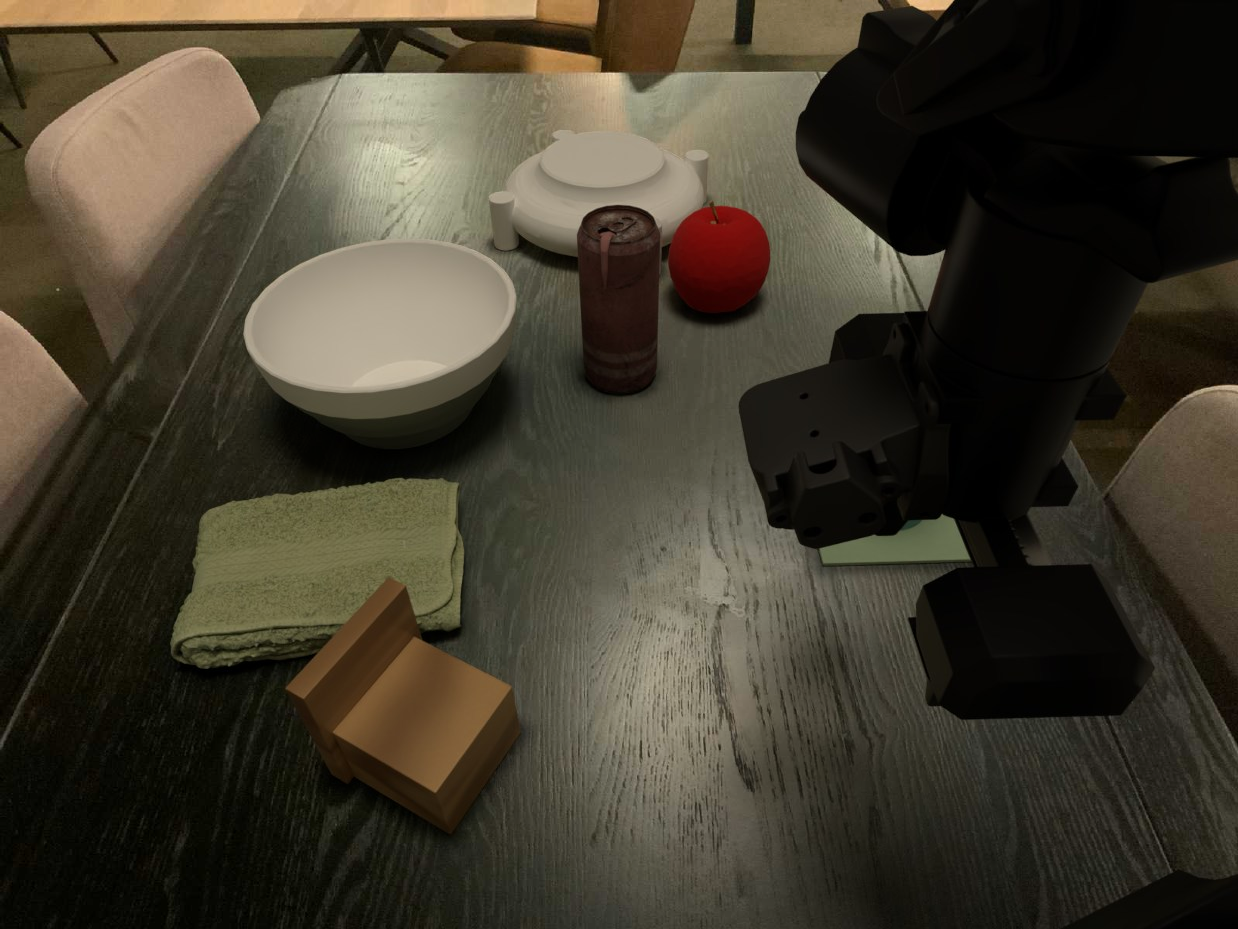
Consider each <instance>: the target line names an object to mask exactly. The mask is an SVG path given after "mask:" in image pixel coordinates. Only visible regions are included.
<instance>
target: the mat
mask: <svg viewBox="0 0 1238 929" xmlns="http://www.w3.org/2000/svg"><path fill="white" fill-rule="evenodd" d="M817 550H818V554H819V557H820V561H821V565H822V567H833V566H835V567H837V566H869V565H871V566H872V565H873V566H874V565H909V564H910V565H911V564H942V563H944V564H945V563H972V562H971V560H970V557H969V555H968V553H967V550H966V548H965V545H964V543H963V540H962V538H961V535H960V533H959V530H958V528H957V525H956V523H955V520H954V519H953V518H950V517H947V516H944V515H943V514H942V515H941V516H940V518H938V519H936V520H922V521H921V522H920V523H919V524H917V525H916V526H914V527H912V528H909V529H906V530H901V531H899V532H898V533H897V534H896V535H894V536H876V535H875V534H874V535H872V536H869V537H865V538H860V539H856V540H852V541H848V542H844V543H840V544H836V545H832V546H828V547H824V548H820V549H817Z"/></svg>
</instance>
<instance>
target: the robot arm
mask: <svg viewBox="0 0 1238 929" xmlns="http://www.w3.org/2000/svg"><path fill="white" fill-rule="evenodd" d="M861 18H862V19H861V23H860V24H861V25H860V31H859V36H858V42H857V47H855V48H854V49H852V50H851V51H848V53H847V54H845V55H844V56H843V57H841V58H840V59H839V60H838V61H836V62H835V63H834V64H833V65H832V67H831V68H830V69H829V70H828V71H827V72H826V73H825V75H823V77H822V78H821V79H820V81H819V82H818V84H817V85H816V87H815V89H814V90H813V92H812V93H811V94H810V96H809V99H808V101H807V103H806V106H805V108H804V109H803V110H802V111H801V112H800V114H799V115H798V118H797V123H796V129H795V152H796V156H797V160H798V164H799V166H800V167H801V169H802V171H803V172H804V174H805V176H806V177H807V178H808V179H810V180H811V181H812V182H813V183H815V185H817V186H818V187H819V188H820V189H822V190H823V191H824V192H825V193H826V194H827V195H829V196H830V197H831V198H832V199H834V201H836V202H837V203H838V204H839V205H841V207H843V208H844V209H846V211H847V212H848V213H850V214H851V215H852V216H854V217H855V218H856V219H858V221H860V222H861V223H862V224H863V225H865V227H867V228H868V229H869V230H870V231H871V232H872V233H874V234H875V235H876V236H878V237H879V238H880V239H881V240H883V242H885V243H886V244H887V245H888V246H890V247H891V248H892V249H893V250H894V251H895V252H897V253H899V254H901V255H906V256H909V257H929V256H933V255H936V254H939V253H941V252H944V253H943V257H942V259H941V263H940V266H939V270H938V273H937V277H936V281H935V284H934V287H933V291H932V294H931V298H930V301H929V305H928V308H927V310H909V311H908V310H907V311H904V312H879V313H878V312H875V313H871V312H870V313H858V314H856V315H855V316H854V317H853V318H851V319H849V321H847V322H846V323H844V324H843V325H841V326H839V327H838V329H836V330H835V331H834V334H833V339H832V340H833V341H832V345H831V349H830V354H829V360H828V363H824V364H822V365H821V364H820V365H818V366H814V367H811V368H807V369H804V370H801V371H797V372H794V373H791V374H788V375H784V376H781V377H777V378H774V379H771V380H767V381H763V382H761V383H757V384H755V385H753V386H752V387H750V388H749V389H747V390H746V391H745V392H744V393H743V394H742V396H741V397H740V398H739V400H738V406H737V407H738V414H739V418H740V424H741V430H742V435H743V439H744V444H745V450H746V455H747V461H748V464H749V467H750V469H751V472H752V474H753V477H754V480H755V482H756V485H757V488H758V490H759V493H760V495H761V498H762V501H763V504H764V510H765V515H766V520H767V524H768V525H769V526H770V527H771V528H773V529H780V530H781V529H783V530H789V531H792V530H793V531H794V533H795V536H796V539H797V541H798V544H800V546H802V547H806V548H810V549H813V550H818V549H820V548H824V547H828V546H832V545H836V544H840V543H844V542H848V541H852V540H856V539H860V538H865V537H869V536H872V535H874V534H875V535H876V536H894V535H896V534H897V533H898V532H899V531H900V530H901V529H902V527H903V526H904V525H905V524H906V523H907V522H908V521H909V520H936V519H938V518H940V516H941V515H942V514H943V515H944V516H947V517H950V518H953V519H954V520H955V523H956V525H957V528H958V530H959V533H960V535H961V538H962V540H963V543H964V545H965V548H966V550H967V553H968V555H969V557H970V560H971V562H970V563H971V565H972V566H967V567H955V568H954V569H952V570H950V571H948V572H946V573H944V574H942V575H941V576H939V577H936V578H935V579H933V580H931V581H929V582H927V583H925V584H923V585H922V587H921V589H920V592H919V595H918V597H917V599H916V602H915V616H909V617H908V618H907V620H908V623H909V627H910V630H911V633H912V636H913V639H914V642H915V646H916V649H917V652H918V655H919V658H920V661H921V664H922V667H923V670H924V673H925V676H926V685H925V692H924V693H925V694H924V695H925V696H924V700H925V702H926V705H927V706H928V707H933V708H934V707H941V708H943V709H944V710H946V711H947V712H948V713H950V714H951V715H953V716H954V717H956V718H957V719H959V720H961V721H969V720H970V721H971V720H974V721H975V720H1008V719H1011V720H1012V719H1013V720H1014V719H1043V718H1045V719H1047V718H1049V719H1050V718H1077V717H1079V718H1080V717H1117V716H1118V717H1120V716H1122V715H1123V714H1124V713H1125V711H1127V709H1128V707H1129V706H1130V705H1131V704H1132V703H1133V701H1134V700H1135V699H1136V698H1137V697H1138V695H1139V694H1140V693H1141V691H1142V690H1143V689H1144V687H1145V686H1146V684H1147V682H1148V681H1149V679H1150V677H1151V676H1152V674H1153V673H1154V671H1155V669H1156V666H1155V665H1154V663H1153V661H1152V659H1151V658H1150V656H1149V653H1148V652H1147V650H1146V648H1145V646H1144V644H1143V642H1142V641H1141V638H1140V636H1139V635H1138V633H1137V631H1136V629H1135V627H1134V626H1133V624H1132V622H1131V620H1130V617H1129V616H1128V615H1127V613H1126V611H1125V609H1124V607H1123V605H1122V603H1121V602H1120V600H1119V598H1118V596H1117V594H1116V593H1115V591H1114V589H1113V586H1112V585H1111V583H1110V581H1109V580H1108V579H1107V578H1106V577H1105V576H1104V575H1103V574H1102V573H1101V572H1100V571H1099V570H1098V569H1097V568H1096V567H1095V566H1094V565H1093V564H1092V563H1084V564H1083V563H1080V564H1053V562H1052V561H1051V560H1052V559H1050V556H1049V554H1048V553H1047V550H1046V548H1045V546H1044V544H1043V542H1042V540H1041V537H1040V536H1039V534H1038V531H1037V530H1036V527H1035V526H1034V524H1033V522H1032V519H1031V518H1030V516H1029V514H1028V513H1029V511H1030V509H1032V508H1053V507H1054V508H1055V507H1058V508H1059V507H1070V504H1071V502H1072V500H1073V498H1074V496H1075V494H1076V492H1077V490H1078V488H1079V485H1078V484H1077V482H1076V480H1075V478H1074V476H1073V474H1072V473H1071V471H1070V469H1069V467H1068V465H1067V463H1066V461H1065V460H1064V458H1063V456H1064V455H1065V453H1066V451H1067V448H1068V446H1069V445H1070V443H1071V440H1072V439H1073V437H1074V435H1075V433H1076V431H1077V428H1078V426H1079V424H1080V422H1081V421H1112V420H1113V421H1114V420H1116V417H1117V415H1118V413H1119V412H1120V409H1121V408H1122V406H1123V404H1124V402H1125V401H1126V398H1127V396H1128V395H1127V394H1126V392H1125V390H1124V389H1123V387H1122V386H1121V385H1120V384H1119V382H1118V381H1117V379H1116V378H1115V377H1114V375H1113V373H1112V372H1111V371H1110V369H1109V368H1108V366H1109V363H1110V362H1111V360H1112V358H1113V355H1114V353H1115V351H1116V349H1117V347H1118V345H1119V344H1120V341H1121V339H1122V337H1123V335H1124V333H1125V331H1126V329H1127V327H1128V325H1129V323H1130V321H1131V320H1132V317H1133V315H1134V313H1135V311H1136V309H1137V307H1138V305H1139V303H1140V301H1141V299H1142V297H1143V295H1144V293H1145V290H1146V288H1147V287H1148V285H1149V284H1153V283H1158V282H1161V281H1165V280H1169V279H1172V278H1176V277H1179V276H1183V275H1187V274H1191V273H1195V272H1198V271H1202V270H1205V269H1209V268H1214V267H1217V266H1221V265H1224V264H1228V263H1232V262H1235V261H1238V190H1237V188H1236V187H1235V185H1234V181H1233V177H1232V173H1231V172H1232V171H1231V170H1232V169H1231V160H1230V159H1238V0H952V2H951V3H950V4H949V6H948V7H947V8H946V9H945V10H944V12H942V14H941V15H940V16H939V17H938V19H936V18H935V17H934V16H933V15H931V14H930V13H928V12H926V11H924V10H922V9H920V8H918V7H916V6H914V5H908V6H902V7H895V8H889V9H882V10H875V11H869V12H866V13H865V14H863V16H862V17H861ZM1160 157H1164V158H1165V157H1167V158H1168V157H1169V158H1170V157H1173V158H1185V159H1182V160H1177V161H1173V162H1167V161H1165V160H1163V159H1161V158H1160ZM1059 929H1238V873H1236V874H1233V875H1230V876H1226V877H1222V878H1217V879H1214V878H1205V877H1200V876H1197V875H1194V874H1192V873H1189V872H1187V871H1184V870H1182V869H1176V870H1175V871H1172V872H1171V873H1168V874H1166V875H1164V876H1162V877H1161V878H1158V879H1157V880H1155V881H1153V882H1150V883H1148V884H1146V885H1145V886H1143V887H1140V888H1138V889H1137V890H1135V891H1133V892H1131V893H1128V894H1127V895H1124V896H1122V897H1120V898H1118V899H1116V900H1114V901H1112V902H1111V903H1109V904H1106V905H1104V906H1102V907H1100V908H1099V909H1096V910H1094V911H1093V912H1091V913H1088V914H1087V915H1084V916H1083V917H1080V918H1079V919H1076V920H1074V921H1073V922H1071V923H1068V924H1067V925H1064V926H1062V927H1060V928H1059Z"/></svg>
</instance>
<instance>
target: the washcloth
mask: <svg viewBox="0 0 1238 929" xmlns="http://www.w3.org/2000/svg"><path fill="white" fill-rule="evenodd" d="M460 493H461V490H460V483H459V482H456V481H455V482H452V481H447V480H446V479H444V478H443V477H441V478H429V479H425V478H407V479H404V478H403V477H398V478H397V477H395V478H389V479H387V480H385V481H375V482H373V483H371V482H366V483H365V484H356V485H348V486H345V485H342V486H340V487H337V488H333V487H330V488H328V489H318V490H316V491H315V490H313V491H310V492H308V491H306V492H302V491H301V492H298V493H296V494H289V493H274V494H273V495H264V496H262V497H256V498H249V499H248V500H247V499H246V500H237V501H236V500H231V501H230V502H227V503H225V504H222V505H219V506H215V507H213V508H210V509H208V510H207V511H206V512H205V513H204V514H203V515H202V516H201V518H200V520H199V522H198V525H199V527H198V534H197V540H196V547H195V556H194V557H193V559H192V567H193V573H195V574H194V576H193V583H192V587H191V592H190V593H189V594H188V595H187V596H186V598H185V599H184V601H183V602H184V603H183V605H181V606H180V608H179V611H180V612H179V613H178V615H177V618H176V621H175V622H174V625H173V628H172V629H173V632H172V637H171V638H170V655H171V657H172V658H173V659H175V660H176V661H177V662H180V663H182V664H184V665H185V664H186V665H190V666H191V665H192V666H196V667H197V668H199V669H205V670H206V669H216V668H217V669H219V668H220V667H222V668H224V667H233V666H237V665H239V664H241V663H243V662H256V661H265V660H274V661H285V660H288V659H297V658H301V657H307V656H311V655H316V654H317V653H318V652H319V651H320V650H321V649H322V648H323V647H324V646H325V645H326V644H327V643H328V642H329V641H330V639H331V638H332V637H333V636H334V635H335V634H336V633H337V632H338V631H339V630H340V629H341V628H342V627H343V626H344V624H345V623H346V622H347V621H348V620H349V619H350V618H351V617H352V616H353V615H354V614H355V613H356V612H357V610H358V609H359V608H360V607H361V606H362V605H363V604H364V603H365V602H366V601H367V600H368V599H369V598H370V597H371V595H372V594H373V593H374V592H375V591H376V590H377V589H378V588H379V587H380V586H381V585H382V584H383V583H384V582H385V580H386V579H387V578H388V577H389V578H391V579H393V580H395V581H398V582H400V583H402V584H404V585H406V588H407V591H408V594H409V597H410V601H411V604H412V607H413V611H414V614H415V617H416V620H417V624H418V627H419V630H420V634H424V633H426V632H432V631H433V632H436V631H445V632H451V631H453V630H455V629H458V628H461V602H462V599H461V593H462V583H463V575H464V565H465V548H464V542H463V537H462V535H461V533H460V531H459V503H460V502H459V501H460Z"/></svg>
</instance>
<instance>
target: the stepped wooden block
mask: <svg viewBox="0 0 1238 929" xmlns="http://www.w3.org/2000/svg"><path fill="white" fill-rule="evenodd" d="M285 691H286V693H287V695H288V697H289V698H290V700H291V702H292V704H293V706H294V708H295V709H296V712H297V713H298V715H299V717H300V719H301V721H302V723H303V724H304V726H305V728H306V730H307V731H308V733H309V735H310V738H311V739H312V741H313V743H314V745H315V746H316V748H317V750H318V753H319V754H320V756H321V757H322V760H323V761H324V764H325V766H326V767H327V769H328V770H329V773H330V774H331V775H332V776H333V777H335V778H336V779H338V780H340V781H341V782H343V783H345V784H346V785H349V784H350V782H352V780H353V779H354V778H355V779H357V780H359V781H360V782H362V783H364V784H365V785H367V786H369V787H370V788H372V789H374V790H375V791H377V792H379V793H380V794H382V795H383V796H385V797H387V798H388V799H389V800H392V801H393V802H395V803H397V804H399V805H400V806H402V807H404V808H405V809H407V810H409V811H410V812H412V813H413V814H415V815H416V816H419V817H420V818H422V819H423V820H425V821H427V822H428V823H430V824H432V825H433V826H435V827H437V828H439V829H440V830H441V831H443V832H445V833H447V834H448V835H452V834H453V832H454V831H455V830H456V828H457V827H458V826H459V824H460V822H461V821H462V820H463V818H464V817H465V815H466V814H467V813H468V810H469V809H470V808H471V806H472V805H473V803H474V802H475V800H476V799H477V798H478V796H479V794H480V793H481V792H482V790H483V788H484V787H485V786H486V784H487V783H488V781H489V780H490V779H491V777H492V775H493V774H494V773H495V771H496V770H497V768H498V767H499V765H500V764H501V762H502V761H503V760H504V758H505V757H506V755H507V753H508V752H509V751H510V749H511V748H512V746H513V745H514V743H515V742H516V741H517V739H518V738H519V736H520V735H521V726H520V721H519V716H518V711H517V706H516V700H515V695H514V688H513V686H512V685H510V684H509V683H506V682H504V681H503V680H500V679H498V678H497V677H494V676H492V675H490V674H488V673H487V672H485V671H483V670H481V669H478V668H477V667H475V666H474V665H473V666H472V665H471V664H469V663H467V662H465V661H463V660H461V659H459V658H457V657H455V656H453V655H451V654H449V653H447V652H446V651H443V650H442V649H440V648H437V647H435V646H434V645H432V644H430V643H428V642H426V641H424V640H423V636H422V633H420V630H419V627H418V624H417V620H416V617H415V614H414V611H413V607H412V604H411V601H410V597H409V594H408V591H407V588H406V585H404V584H402V583H400V582H398V581H395V580H393V579H391V578H389V577H388V578H387V579H386V580H385V582H384V583H383V584H382V585H381V586H380V587H379V588H378V589H377V590H376V591H375V592H374V593H373V594H372V595H371V597H370V598H369V599H368V600H367V601H366V602H365V603H364V604H363V605H362V606H361V607H360V608H359V609H358V610H357V612H356V613H355V614H354V615H353V616H352V617H351V618H350V619H349V620H348V621H347V622H346V623H345V624H344V626H343V627H342V628H341V629H340V630H339V631H338V632H337V633H336V634H335V635H334V636H333V637H332V638H331V639H330V641H329V642H328V643H327V644H326V645H325V646H324V647H323V648H322V649H321V650H320V651H319V652H318V653H316V654H315V655H314V656H313V658H312V659H311V660H310V661H309V662H308V663H307V664H306V665H305V666H304V667H303V668H302V669H301V670H300V671H299V673H298V674H297V675H296V676H295V677H294V678H293V679H292V680H291V681H290V682H289V684H287V685H286V687H285Z"/></svg>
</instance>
